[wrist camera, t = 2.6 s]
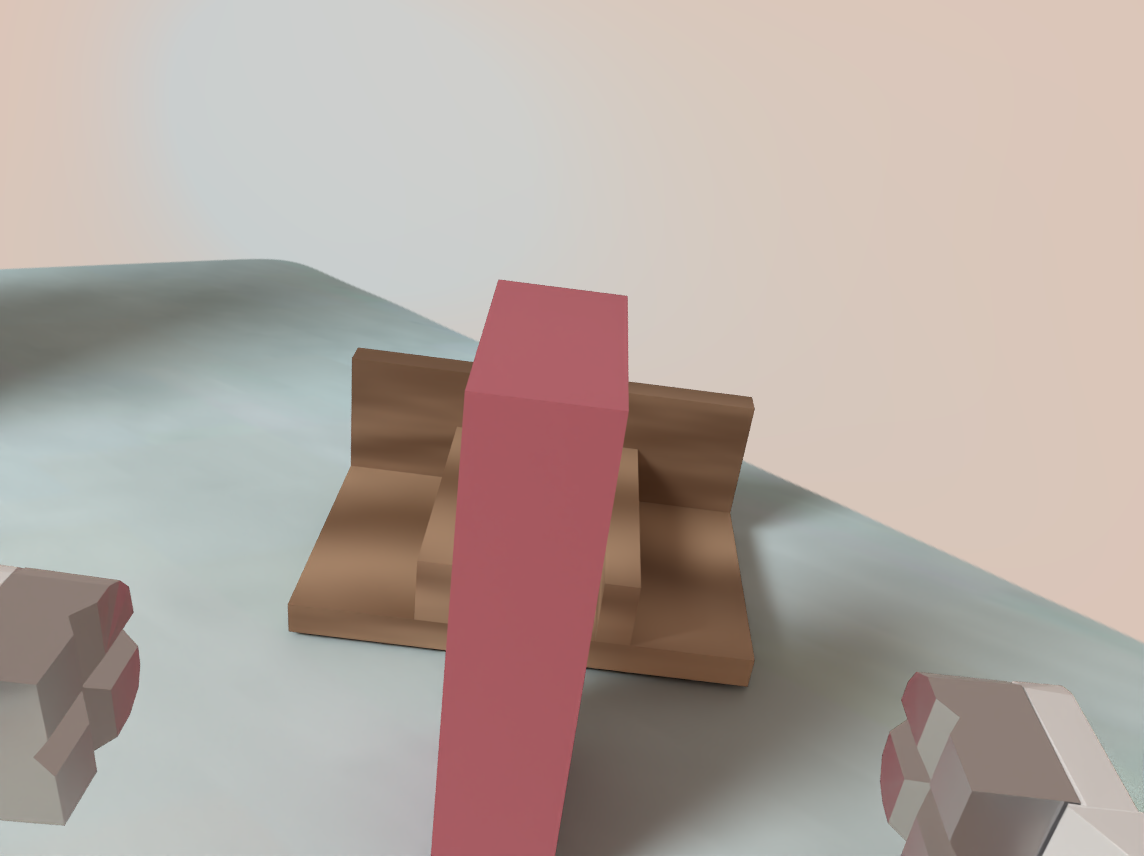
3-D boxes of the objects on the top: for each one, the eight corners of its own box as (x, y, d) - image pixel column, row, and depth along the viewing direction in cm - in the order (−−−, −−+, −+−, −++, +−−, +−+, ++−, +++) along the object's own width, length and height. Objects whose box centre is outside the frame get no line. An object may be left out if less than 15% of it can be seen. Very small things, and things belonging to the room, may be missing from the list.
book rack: (747, 686, 35) (787, 542, 32) (288, 631, 34) (284, 480, 31) (722, 522, 43) (751, 397, 40) (356, 477, 43) (357, 347, 40)
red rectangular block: (547, 899, 27) (628, 411, 19) (428, 886, 27) (465, 390, 19) (560, 731, 32) (627, 295, 25) (460, 719, 32) (498, 279, 25)
